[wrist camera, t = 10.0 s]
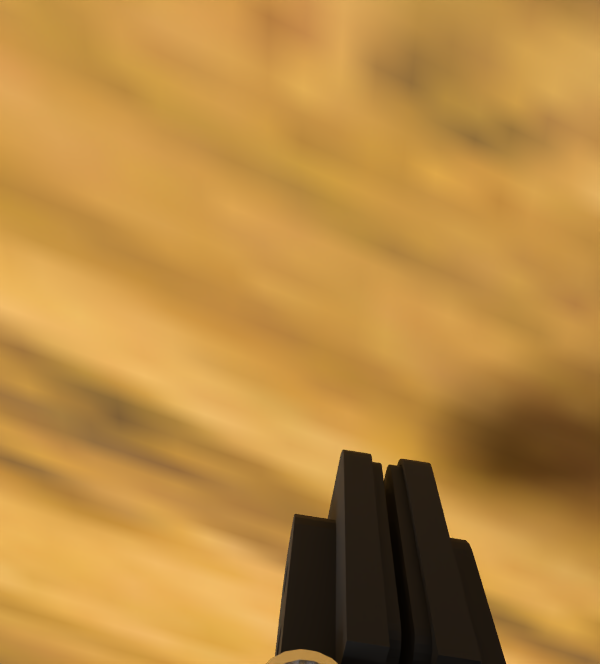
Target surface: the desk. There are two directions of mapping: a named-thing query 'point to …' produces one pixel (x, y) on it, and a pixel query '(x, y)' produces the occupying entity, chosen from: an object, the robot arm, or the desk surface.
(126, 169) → the desk surface
